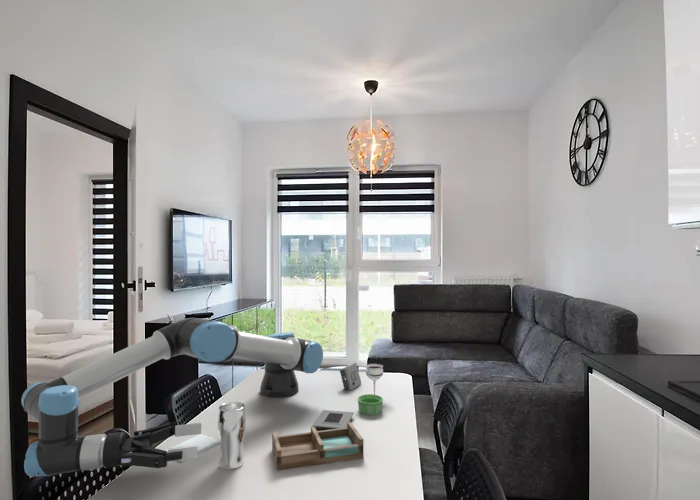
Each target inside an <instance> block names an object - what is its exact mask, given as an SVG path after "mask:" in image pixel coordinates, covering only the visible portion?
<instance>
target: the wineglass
mask: <svg viewBox="0 0 700 500" xmlns="http://www.w3.org/2000/svg"><path fill="white" fill-rule="evenodd" d="M383 367H384V365H383V364H379V363H369V364H366V365H365V368H366V369H365V375H366V376H367V377H368V379H370V380H371V381H372V382H373V383H372V384H373V394H374V395H376V382H377V380H379V379H381V378H382V376H383V375H384V369H383Z"/></svg>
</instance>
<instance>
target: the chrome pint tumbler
mask: <svg viewBox="0 0 700 500" xmlns="http://www.w3.org/2000/svg"><path fill="white" fill-rule="evenodd" d="M246 424H247V423H246V406H245V403H243V402H241V401H240V402H239V401H232V402H231V401H230V402H226V403H222V404H221V405H220V406H219V407H218V416H217V431H218V432H217V433H218V438H219V439H218V440H219V444H220V451H221V452H220V460H219V467H220V469H222V470H225V471H227V470H228V471H231V470H232V469H233V470H237V469H239V468H241V467H242V466H243V465H244V463H245V461H244V455H243V443H244V437H245V433H246ZM240 466H241V467H240Z"/></svg>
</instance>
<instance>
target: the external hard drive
mask: <svg viewBox="0 0 700 500" xmlns="http://www.w3.org/2000/svg"><path fill="white" fill-rule="evenodd" d="M218 444H220V439H217V438H215V437H211V436H207V435H205V434H202V433H201V434H196V436H193V437H191V438H189V439H186V440H185V441H182V442H181V443H179V444H176V445H174V446H171V448H178V447H186V446H194V445H198V455H199V454H202V453H203V452H205V451H207V450H209V449H212V448H213V447H215V446H217V445H218ZM164 451H167V453H168V449H166V450H164ZM187 460H188V459H185V460H177V461H178V462H180V463H184V462H185V461H187Z"/></svg>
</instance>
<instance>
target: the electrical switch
mask: <svg viewBox="0 0 700 500" xmlns="http://www.w3.org/2000/svg"><path fill="white" fill-rule="evenodd" d="M339 373H340V376H341V381H342V384H343V388H344V389H345V390H347V389H349V391H352V390H354V389H355V388H357V387H359V386H360V385H362V379H361V376H360V373H359V368H358V364H357V362H352V363H350V364H349V365H346V366H345V367H343V368H341V369H339Z"/></svg>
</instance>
